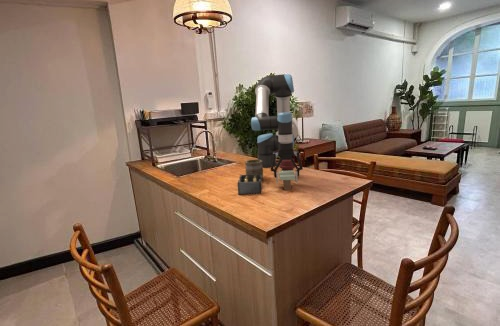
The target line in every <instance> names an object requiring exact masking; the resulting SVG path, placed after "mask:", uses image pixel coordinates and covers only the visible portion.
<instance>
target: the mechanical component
mask: <svg viewBox="0 0 500 326" xmlns="http://www.w3.org/2000/svg"><path fill="white" fill-rule="evenodd" d="M293 160H294V161H295V158H293ZM278 168H279V169H281V171H289V170H293V171H294V169H296V168H295V166H294V165H293V163H292V161H291V160H290V159H289V160H282V162H281V163H280V165H279V167H278Z"/></svg>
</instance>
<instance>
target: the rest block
mask: <svg viewBox="0 0 500 326" xmlns="http://www.w3.org/2000/svg"><path fill="white" fill-rule="evenodd" d="M282 183H283V184H282V185H283V190H284V191H290V190H292V180H282Z"/></svg>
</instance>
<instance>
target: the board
mask: <svg viewBox="0 0 500 326" xmlns="http://www.w3.org/2000/svg"><path fill="white" fill-rule="evenodd" d="M278 179H279V181H283V180H291V181H296V176H295V171H294V169H293V170H289V171H282V170H278Z"/></svg>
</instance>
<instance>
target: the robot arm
mask: <svg viewBox="0 0 500 326" xmlns="http://www.w3.org/2000/svg"><path fill="white" fill-rule="evenodd" d="M293 81H294V80H293V76H292V75H291V74H290V73H289V74H288V73H287V74H285V73H284V74H283V73H282V74H273V75H272V74H270V75H266V76H264V77H262V78H261V79H260V80H259V81H258V82H257V83H256V85H255V88H254V94H255V97H256V98H255V100H256V101H255V116H254V117H253V116H252V117H251V120H250V122H251V124H250V125H251V130H252V131H259V132H261V131H271V130H273V131H275V130H277V131H276V132H275V135H274V133H265V134H261V135H258V136H257V139H256V140H257V142H256V143H257V159H256V160H262V161H263V163H262V167H263V168H264V169H265V168H270V172H273V176H274V177H273V178H274V179H275V178H276V185H279V170H278V169H279V168H280V167H279V165H280V164H281V162H282V160H289V159H290V160H291V161H292V163H293V165H294V166H295V168H294V169H296V170H295V171H294V174H295V183H296V184H298V178H299V177H300V171H303V165H302V162H301V159H300V152H299V151H294V145H295V134H293V113H292V112H291V109H290V108H291V107H290V106H291V105H290V103H291V102H290V101H291V99H290V98H291V97H292V96H293V94H294V92H295V89H294V88H295V87H294V82H293ZM273 94H274V95H273ZM270 95H273V96H274V98H275V99H276V111H277V112H276V114H277V115H272V116H271V115H269V97H270ZM278 156H279V159H278V161H277V160H276V158H277V157H278ZM293 156H295V157H296V160H297V163H298V165H297V163H296V162H295V159H294V158H293ZM293 159H294V160H293Z"/></svg>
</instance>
